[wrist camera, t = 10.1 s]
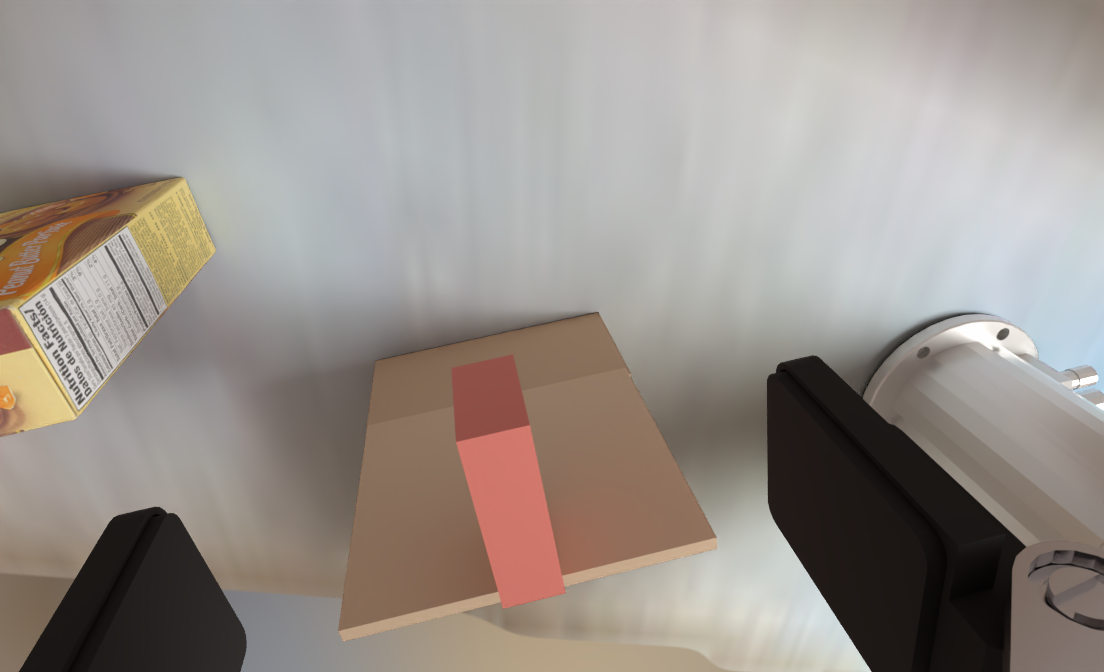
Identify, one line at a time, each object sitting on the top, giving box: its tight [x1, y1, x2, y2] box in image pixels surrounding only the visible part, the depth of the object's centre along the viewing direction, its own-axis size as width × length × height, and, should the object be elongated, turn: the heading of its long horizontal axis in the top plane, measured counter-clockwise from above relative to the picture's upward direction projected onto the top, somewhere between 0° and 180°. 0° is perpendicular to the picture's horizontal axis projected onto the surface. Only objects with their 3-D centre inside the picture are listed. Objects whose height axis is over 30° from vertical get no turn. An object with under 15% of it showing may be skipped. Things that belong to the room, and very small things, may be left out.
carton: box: [366, 312, 631, 432], centre depth 38 cm, size 13×13×7 cm
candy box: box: [0, 177, 216, 437], centre depth 25 cm, size 9×4×15 cm, turn 100°
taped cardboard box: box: [338, 354, 717, 641], centre depth 25 cm, size 12×12×7 cm
